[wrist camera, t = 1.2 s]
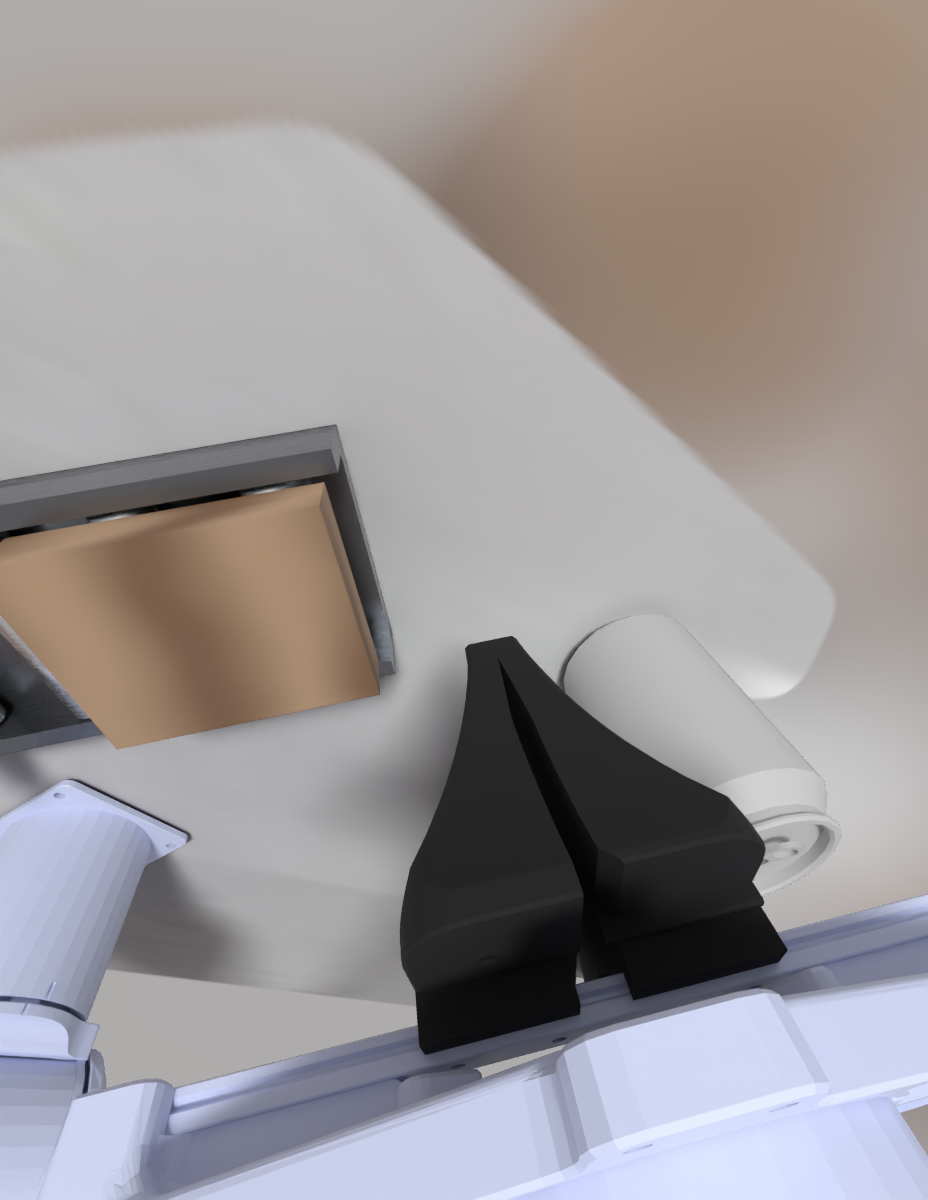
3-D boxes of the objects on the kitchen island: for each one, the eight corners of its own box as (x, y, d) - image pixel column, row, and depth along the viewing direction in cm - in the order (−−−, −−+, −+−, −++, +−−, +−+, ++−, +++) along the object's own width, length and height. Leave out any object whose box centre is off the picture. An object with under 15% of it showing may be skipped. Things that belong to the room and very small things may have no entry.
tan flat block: (324, 481, 15) (319, 506, 14) (378, 660, 20) (379, 694, 18) (5, 538, 15) (-39, 570, 13) (138, 709, 19) (117, 749, 18)
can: (532, 683, 27) (626, 913, 17) (618, 583, 24) (790, 793, 14) (623, 717, 30) (746, 927, 20) (709, 632, 27) (902, 832, 17)
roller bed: (336, 424, 17) (324, 481, 13) (392, 632, 23) (398, 726, 18) (-249, 522, 16) (-517, 629, 11) (-35, 717, 22) (-151, 843, 17)
